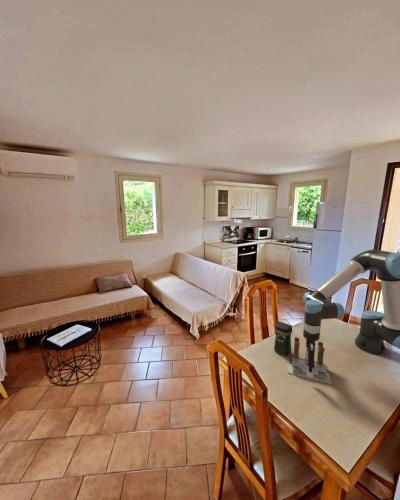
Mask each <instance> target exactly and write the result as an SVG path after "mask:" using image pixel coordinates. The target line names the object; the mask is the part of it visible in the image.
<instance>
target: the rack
mask: <svg viewBox="0 0 400 500" xmlns="http://www.w3.org/2000/svg"><path fill="white" fill-rule="evenodd" d="M317 343H318V344H317V357H316V361H315V360H314V362H315V363H319V364H324V365H326V363H324V353H325V347H324V342H323V341H317ZM300 345H301V344H300V337H296V336H295V337H294V346H293V356H291V355H289V364H292V359H293V358H296V359H301V360H306V359H305V358H300V357H299V356H300V355H299V354H300ZM306 361H308V360H306Z"/></svg>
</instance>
